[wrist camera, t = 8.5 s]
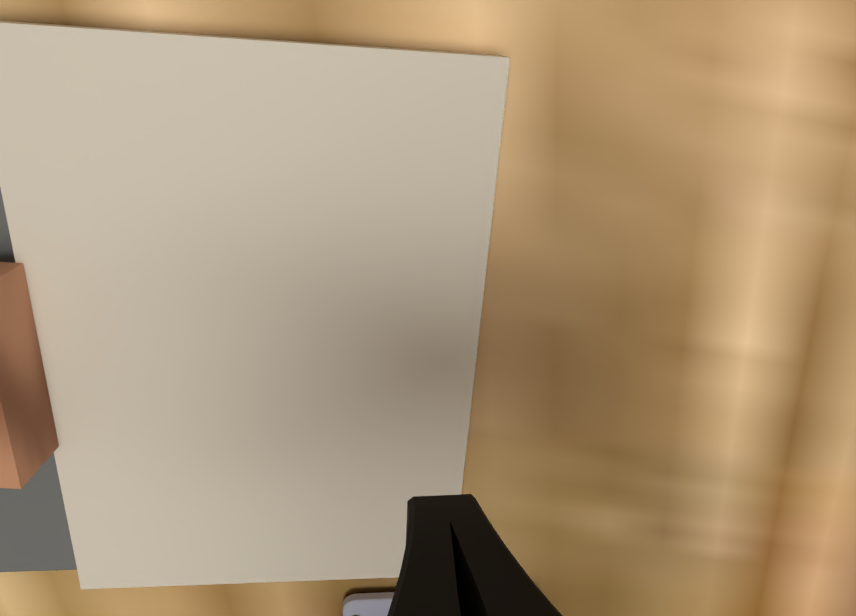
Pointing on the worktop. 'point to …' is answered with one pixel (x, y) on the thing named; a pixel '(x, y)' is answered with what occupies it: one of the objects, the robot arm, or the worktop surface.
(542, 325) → the worktop surface
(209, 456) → the board
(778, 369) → the worktop surface
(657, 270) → the worktop surface
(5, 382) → the block
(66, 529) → the mat
